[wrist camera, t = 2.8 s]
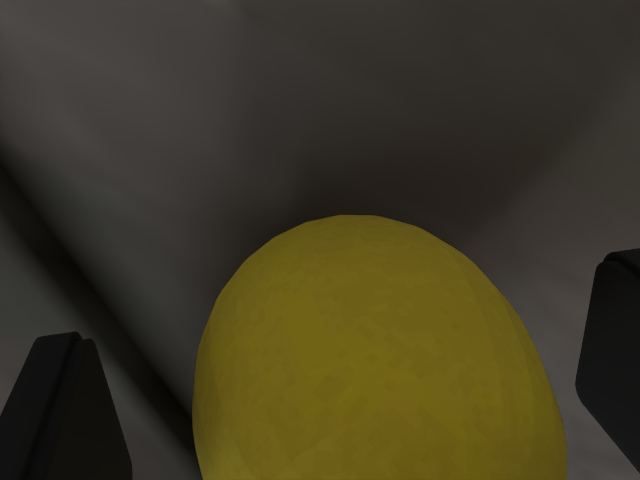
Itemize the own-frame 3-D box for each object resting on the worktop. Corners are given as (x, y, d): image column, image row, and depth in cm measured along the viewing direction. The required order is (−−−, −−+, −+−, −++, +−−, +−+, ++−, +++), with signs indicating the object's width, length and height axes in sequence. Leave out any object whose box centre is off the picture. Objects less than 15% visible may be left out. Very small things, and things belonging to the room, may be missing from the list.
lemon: (485, 221, 13) (804, 541, 6) (358, 395, 15) (490, 800, 8) (273, 107, 11) (379, 384, 4) (156, 323, 13) (87, 780, 6)
